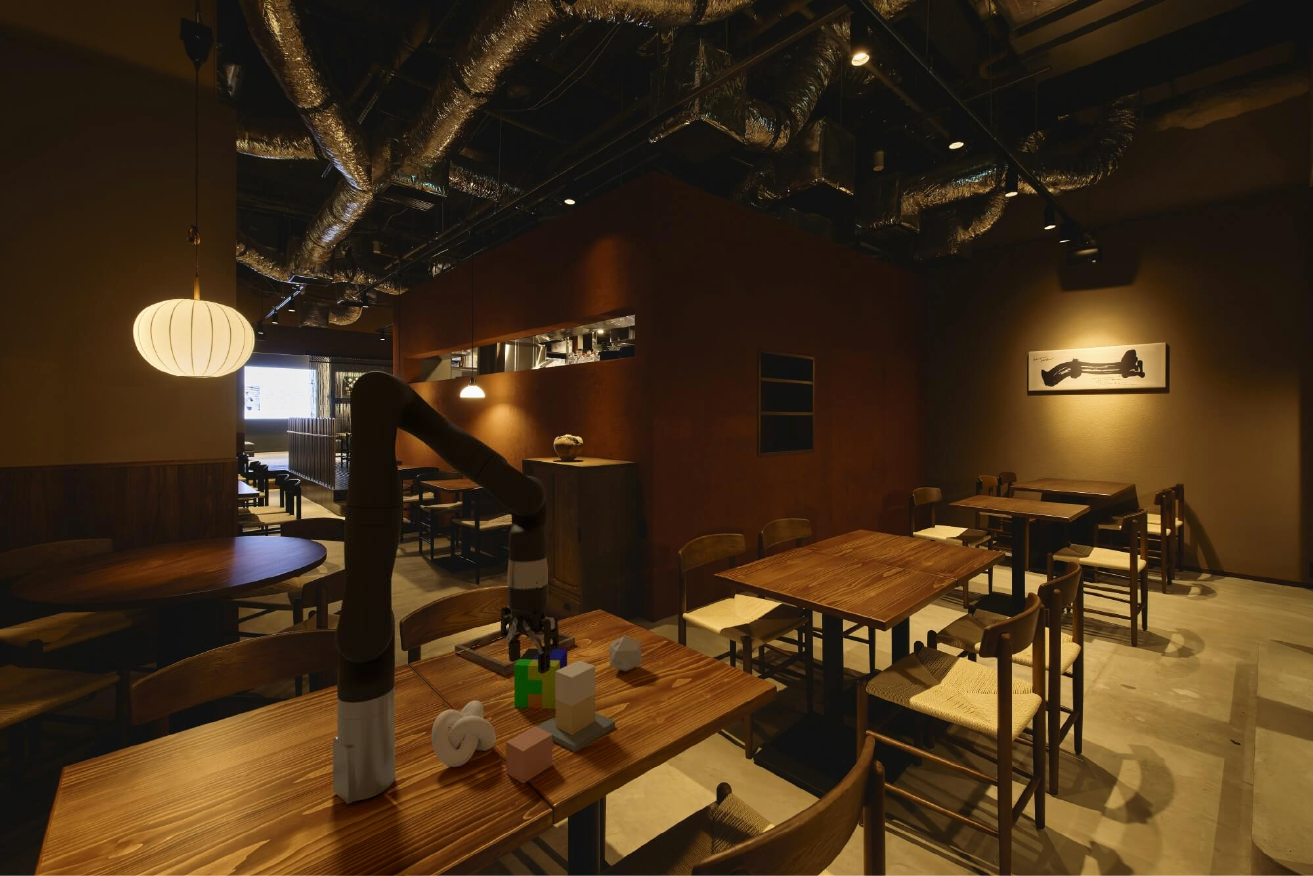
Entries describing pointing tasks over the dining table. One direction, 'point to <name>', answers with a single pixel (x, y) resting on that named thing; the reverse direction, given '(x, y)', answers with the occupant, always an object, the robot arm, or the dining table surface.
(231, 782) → the dining table surface
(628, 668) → the die
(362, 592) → the robot arm
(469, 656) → the tray frame
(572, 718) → the brick mustard
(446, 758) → the white knot
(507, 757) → the brick terracotta
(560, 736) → the baseplate
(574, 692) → the brick white
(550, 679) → the puzzle toy
